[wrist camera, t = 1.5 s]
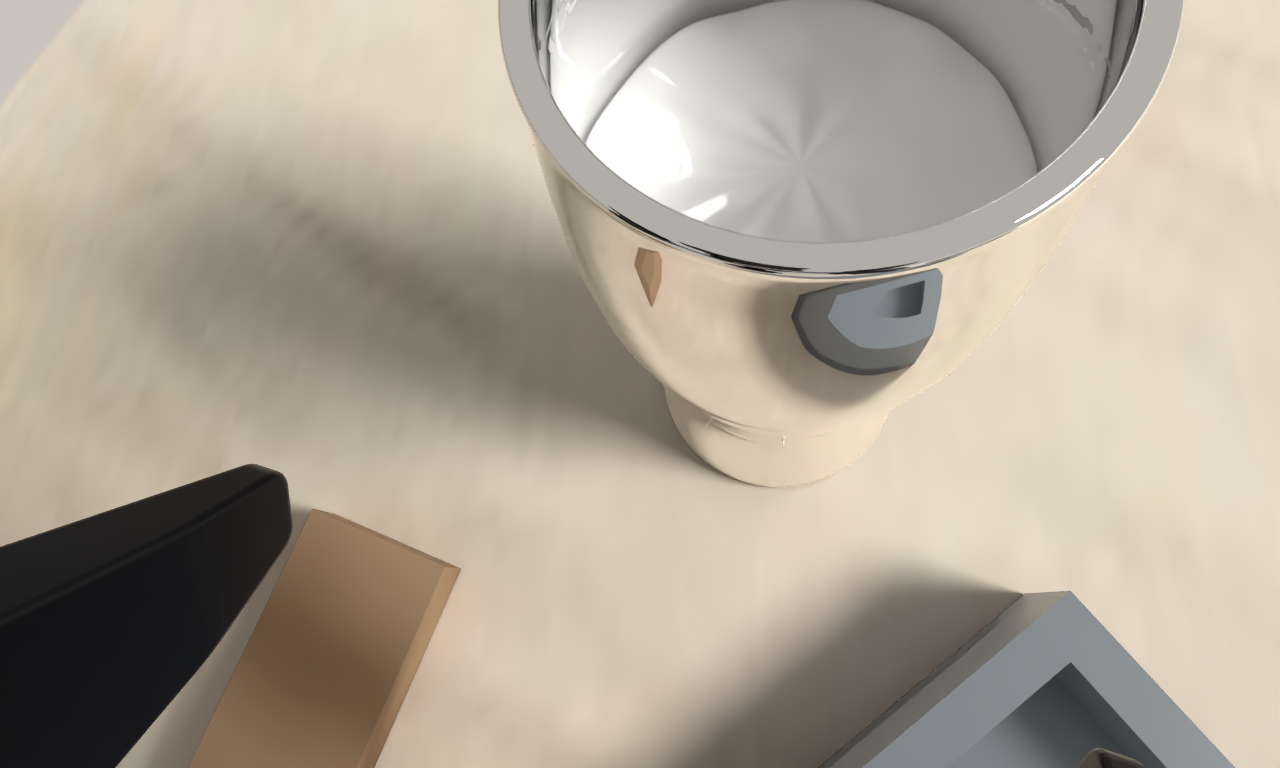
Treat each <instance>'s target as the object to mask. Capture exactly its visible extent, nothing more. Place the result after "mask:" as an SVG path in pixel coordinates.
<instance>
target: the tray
mask: <svg viewBox="0 0 1280 768" xmlns="http://www.w3.org/2000/svg"><path fill="white" fill-rule="evenodd" d="M1095 748H1102V749H1105V750H1108V751H1111V752H1114V753H1117V754H1120V755H1123V756H1126V757H1129V758H1132V759H1135V760H1137V761H1138V762H1140V763H1141V764H1142V765H1143V766H1144V767H1145V768H1235V767H1234V766H1233V765H1232V764H1231V763H1230V762H1229V761H1228V760H1227V759H1226V757H1225V756H1224V755H1223V754H1222V753H1221V752H1220V751H1219V750H1218V749H1217V748H1216V747H1215V746H1214V745H1213V743H1212V742H1211V741H1210V740H1209V739H1208V738H1207V737H1206V736H1205V735H1204V734H1203V733H1202V732H1201V731H1200V730H1199V728H1198V727H1197V726H1196V725H1195V724H1194V723H1193V722H1192V721H1191V720H1190V719H1189V718H1188V717H1187V716H1186V714H1185V713H1184V712H1183V711H1182V710H1181V709H1180V708H1179V707H1178V706H1177V705H1176V704H1175V703H1174V702H1173V701H1172V699H1171V698H1170V697H1169V696H1168V695H1167V694H1166V693H1165V692H1164V691H1163V690H1162V689H1161V688H1160V687H1159V685H1158V684H1157V683H1156V682H1155V681H1154V680H1153V679H1152V678H1151V677H1150V676H1149V675H1148V674H1147V673H1146V672H1145V670H1144V669H1143V668H1142V667H1141V666H1140V665H1139V664H1138V663H1137V662H1136V661H1135V660H1134V659H1133V658H1132V656H1131V655H1130V654H1129V653H1128V652H1127V651H1126V650H1125V649H1124V648H1123V647H1122V646H1121V645H1120V644H1119V643H1118V641H1117V640H1116V639H1115V638H1114V637H1113V636H1112V635H1111V634H1110V633H1109V632H1108V631H1107V630H1106V629H1105V627H1104V626H1103V625H1102V624H1101V623H1100V622H1099V621H1098V620H1097V619H1096V618H1095V617H1094V616H1093V615H1092V614H1091V612H1090V611H1089V610H1088V609H1087V608H1086V607H1085V606H1084V605H1083V604H1082V603H1081V602H1080V601H1079V600H1078V598H1077V597H1076V596H1075V595H1074V594H1073V593H1072V592H1071V591H1062V592H1044V593H1026V594H1024V595H1023V596H1022V597H1020V598H1019V599H1018V600H1017V601H1016V602H1014V603H1013V604H1012V605H1011V606H1010V607H1009V608H1007V609H1006V610H1005V611H1004V612H1003V613H1001V614H1000V615H999V616H998V617H997V618H995V619H994V620H993V621H992V622H991V623H990V624H988V625H987V626H986V627H985V628H984V629H982V630H981V631H980V632H979V633H978V634H977V635H975V636H974V637H973V638H972V639H971V640H969V641H968V642H967V643H966V644H965V645H964V646H962V647H961V648H960V649H959V650H958V651H956V652H955V653H954V654H953V655H952V656H950V657H949V658H948V659H947V660H946V661H945V662H943V663H942V664H941V665H940V666H939V667H937V668H936V669H935V670H934V671H933V672H932V673H930V674H929V675H928V676H927V677H926V678H924V679H923V680H922V681H921V682H920V683H919V684H917V685H916V686H915V687H914V688H913V689H911V690H910V691H909V692H908V693H907V694H905V695H904V696H903V697H902V698H901V699H900V700H898V701H897V702H896V703H895V704H894V705H892V706H891V707H890V708H889V709H888V710H887V711H885V712H884V713H883V714H882V715H881V716H879V717H878V718H877V719H876V720H875V721H874V722H872V723H871V724H870V725H869V726H868V727H866V728H865V729H864V730H863V731H862V732H860V733H859V734H858V735H857V736H856V737H855V738H853V739H852V740H851V741H850V742H849V743H847V744H846V745H845V746H844V747H843V748H842V749H840V750H839V751H838V752H837V753H836V754H834V755H833V756H832V757H831V758H830V759H829V760H827V761H826V762H825V763H824V764H823V765H821V766H820V767H819V768H1078V766H1079V765H1080V763H1081V762H1082V760H1083V759H1084V757H1085V756H1086V755H1087V754H1088V753H1089V751H1091V750H1093V749H1095Z"/></svg>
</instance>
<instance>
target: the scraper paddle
mask: <svg viewBox="0 0 1280 768" xmlns="http://www.w3.org/2000/svg"><path fill="white" fill-rule="evenodd" d="M460 570H461V569H460V568H458V567H456V566H453V565H451V564H449V563H446V562H444V561H442V560H439V559H437V558H435V557H432V556H430V555H428V554H426V553H423V552H421V551H419V550H416V549H414V548H412V547H409V546H407V545H405V544H402V543H400V542H398V541H396V540H393V539H391V538H389V537H386V536H384V535H382V534H379V533H377V532H375V531H372V530H370V529H368V528H366V527H363V526H361V525H359V524H356V523H354V522H352V521H349V520H347V519H345V518H343V517H340V516H338V515H336V514H332V513H328V512H324V511H319V510H315V509H312V511H311V513H310V515H309V517H308V519H307V521H306V523H305V525H304V528H303V530H302V532H301V534H300V536H299V538H298V540H297V542H296V544H295V546H294V548H293V550H292V553H291V555H290V557H289V559H288V561H287V563H286V565H285V567H284V569H283V571H282V573H281V575H280V577H279V580H278V582H277V584H276V586H275V588H274V590H273V592H272V594H271V596H270V598H269V600H268V602H267V605H266V607H265V609H264V611H263V613H262V615H261V617H260V619H259V621H258V623H257V625H256V627H255V630H254V632H253V634H252V636H251V638H250V640H249V642H248V644H247V646H246V648H245V650H244V652H243V655H242V657H241V659H240V661H239V663H238V665H237V667H236V669H235V671H234V673H233V675H232V677H231V680H230V682H229V684H228V686H227V688H226V690H225V692H224V694H223V696H222V698H221V700H220V702H219V705H218V707H217V709H216V711H215V713H214V715H213V717H212V719H211V721H210V723H209V725H208V727H207V729H206V732H205V734H204V736H203V738H202V740H201V742H200V744H199V746H198V748H197V750H196V752H195V754H194V757H193V759H192V761H191V763H190V765H189V767H188V768H374V767H375V765H376V763H377V760H378V758H379V756H380V753H381V751H382V749H383V746H384V744H385V742H386V740H387V737H388V735H389V733H390V730H391V728H392V726H393V724H394V721H395V719H396V717H397V714H398V712H399V710H400V708H401V705H402V703H403V701H404V698H405V696H406V694H407V691H408V689H409V687H410V685H411V682H412V680H413V678H414V675H415V673H416V671H417V669H418V666H419V664H420V662H421V659H422V657H423V655H424V653H425V650H426V648H427V646H428V643H429V641H430V639H431V636H432V634H433V632H434V630H435V627H436V625H437V623H438V620H439V618H440V616H441V614H442V611H443V609H444V607H445V604H446V602H447V600H448V598H449V595H450V593H451V591H452V588H453V586H454V584H455V581H456V579H457V577H458V575H459V572H460Z"/></svg>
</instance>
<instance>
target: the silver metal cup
mask: <svg viewBox="0 0 1280 768" xmlns="http://www.w3.org/2000/svg"><path fill="white" fill-rule="evenodd" d="M1184 6H1185V0H498V21H499V34H500V42H501V48H502V53H503V59H504V63H505V67H506V71H507V74H508V78H509V81H510V84H511V87H512V89H513V92H514V95H515V97H516V100H517V102H518V104H519V107H520V109H521V111H522V113H523V115H524V117H525V119H526V121H527V123H528V126H529V129H530V132H531V136H532V139H533V143H534V146H535V150H536V153H537V157H538V160H539V164H540V167H541V170H542V174H543V177H544V180H545V183H546V186H547V189H548V192H549V195H550V198H551V201H552V204H553V207H554V210H555V214H556V217H557V219H558V222H559V225H560V227H561V230H562V232H563V235H564V237H565V239H566V242H567V244H568V246H569V249H570V251H571V253H572V256H573V258H574V261H575V263H576V265H577V268H578V270H579V272H580V275H581V277H582V279H583V281H584V283H585V285H586V287H587V288H588V290H589V292H590V294H591V296H592V297H593V299H594V300H595V302H596V304H597V305H598V307H599V309H600V310H601V312H602V314H603V315H604V317H605V319H606V320H607V322H608V323H609V325H610V327H611V328H612V330H613V331H614V333H615V334H616V336H617V337H618V338H619V340H620V341H621V342H622V344H623V345H624V346H625V348H626V349H627V350H628V351H629V352H630V353H631V355H632V356H633V357H634V358H635V359H636V360H637V361H638V362H639V363H640V364H641V365H642V366H643V367H644V368H645V369H646V370H647V371H648V372H649V373H651V374H652V375H653V376H654V377H655V378H656V379H657V380H658V381H659V382H660V383H661V384H662V385H663V386H664V390H665V396H666V400H667V404H668V408H669V411H670V414H671V416H672V419H673V421H674V423H675V425H676V427H677V429H678V431H679V432H680V434H681V435H682V437H683V438H684V440H685V441H686V442H687V444H688V445H689V446H690V447H691V448H692V450H693V451H694V452H695V453H696V454H697V455H698V456H700V457H701V458H702V459H703V460H704V461H705V462H707V463H708V464H709V465H711V466H712V467H714V468H715V469H717V470H718V471H720V472H722V473H724V474H726V475H728V476H730V477H733V478H735V479H737V480H740V481H743V482H746V483H750V484H754V485H759V486H766V487H794V486H801V485H806V484H810V483H813V482H816V481H819V480H822V479H824V478H827V477H829V476H831V475H833V474H835V473H837V472H839V471H841V470H843V469H844V468H846V467H848V466H849V465H850V464H852V463H853V462H854V461H856V460H857V459H858V458H859V457H860V456H861V455H862V454H863V453H864V452H865V451H866V450H867V449H868V448H869V447H870V446H871V445H872V443H873V442H874V441H875V439H876V438H877V436H878V435H879V433H880V432H881V430H882V428H883V426H884V424H885V422H886V420H887V417H888V415H889V412H890V411H892V410H893V409H895V408H897V407H899V406H900V405H902V404H904V403H906V402H907V401H909V400H911V399H913V398H914V397H916V396H918V395H920V394H921V393H923V392H925V391H926V390H928V389H930V388H931V387H933V386H934V385H935V384H937V383H938V382H940V381H941V380H942V379H944V378H945V377H946V376H947V375H949V374H950V373H951V372H952V371H953V370H955V369H956V368H957V367H958V366H959V365H960V364H961V363H962V362H963V361H964V360H965V359H966V358H967V357H968V356H969V355H970V354H972V353H973V352H974V351H975V350H976V349H977V348H978V347H979V346H980V345H981V344H982V343H983V342H984V341H985V340H986V339H987V338H988V337H989V336H990V335H991V334H992V333H993V332H994V331H995V330H996V329H997V328H998V327H999V325H1000V324H1001V323H1002V322H1003V321H1004V320H1005V319H1006V317H1007V316H1008V315H1009V314H1010V313H1011V311H1012V310H1013V309H1014V307H1015V306H1016V305H1017V303H1018V302H1019V301H1020V299H1021V298H1022V297H1023V296H1024V294H1025V293H1026V292H1027V290H1028V289H1029V288H1030V286H1031V285H1032V284H1033V282H1034V281H1035V280H1036V278H1037V277H1038V276H1039V274H1040V273H1041V272H1042V270H1043V269H1044V268H1045V266H1046V265H1047V263H1048V262H1049V260H1050V259H1051V258H1052V256H1053V254H1054V253H1055V251H1056V250H1057V248H1058V247H1059V245H1060V243H1061V242H1062V240H1063V239H1064V237H1065V236H1066V234H1067V232H1068V231H1069V229H1070V228H1071V226H1072V224H1073V223H1074V221H1075V220H1076V218H1077V217H1078V215H1079V213H1080V212H1081V210H1082V208H1083V207H1084V205H1085V203H1086V202H1087V200H1088V198H1089V196H1090V195H1091V193H1092V191H1093V189H1094V188H1095V186H1096V184H1097V183H1098V181H1099V179H1100V177H1101V176H1102V174H1103V172H1104V171H1105V169H1106V167H1107V166H1108V164H1109V162H1110V161H1111V159H1112V158H1113V157H1114V156H1115V155H1116V153H1117V152H1118V151H1119V150H1120V149H1121V147H1122V146H1123V145H1124V144H1125V143H1126V141H1127V140H1128V139H1129V137H1130V136H1131V135H1132V134H1133V132H1134V131H1135V130H1136V128H1137V127H1138V125H1139V124H1140V122H1141V121H1142V119H1143V118H1144V116H1145V115H1146V113H1147V111H1148V109H1149V108H1150V106H1151V104H1152V103H1153V101H1154V99H1155V97H1156V95H1157V93H1158V91H1159V89H1160V88H1161V85H1162V83H1163V81H1164V78H1165V76H1166V74H1167V71H1168V69H1169V66H1170V63H1171V61H1172V58H1173V55H1174V52H1175V49H1176V45H1177V42H1178V38H1179V34H1180V30H1181V25H1182V19H1183V13H1184Z"/></svg>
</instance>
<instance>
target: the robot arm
mask: <svg viewBox="0 0 1280 768" xmlns="http://www.w3.org/2000/svg"><path fill="white" fill-rule="evenodd" d="M292 527H293V522H292V514H291V506H290V498H289V490H288V483H287V480H286V478H285V477H284V475H283V474H282V473H280V472H278V471H275V470H272V469H269V468H266V467H263V466H260V465H257V464H247V465H244V466H240V467H237V468H234V469H231V470H228V471H225V472H222V473H219V474H216V475H213V476H210V477H208V478H205V479H202V480H199V481H196V482H193V483H190V484H187V485H184V486H181V487H178V488H175V489H172V490H169V491H166V492H163V493H160V494H157V495H154V496H151V497H148V498H145V499H142V500H139V501H136V502H133V503H130V504H127V505H124V506H121V507H118V508H115V509H112V510H109V511H106V512H103V513H100V514H97V515H94V516H91V517H88V518H85V519H82V520H79V521H76V522H73V523H70V524H67V525H64V526H61V527H58V528H55V529H52V530H49V531H46V532H43V533H41V534H38V535H35V536H32V537H29V538H26V539H23V540H20V541H17V542H14V543H11V544H8V545H5V546H2V547H0V768H116V766H117V765H118V764H119V763H120V762H121V760H122V759H123V758H124V757H125V756H126V754H127V753H128V752H129V751H130V750H131V749H132V747H133V746H134V745H135V744H136V743H137V741H138V740H139V739H140V738H141V737H142V736H143V734H144V733H145V732H146V731H147V730H148V728H149V727H150V726H151V725H152V724H153V722H154V721H155V720H156V719H157V718H158V717H159V715H160V714H161V713H162V712H163V711H164V709H165V708H166V707H167V706H168V705H169V704H170V702H171V701H172V700H173V699H174V698H175V696H176V695H177V694H178V693H179V692H180V690H181V689H182V688H183V687H184V686H185V685H186V683H187V682H188V681H189V680H190V679H191V677H192V676H193V675H194V674H195V673H196V672H197V670H198V669H199V668H200V667H201V665H202V664H203V663H204V662H205V660H206V659H207V658H208V657H209V655H210V654H211V653H212V652H213V650H214V649H215V648H216V646H217V645H218V644H219V642H220V641H221V639H222V638H223V637H224V635H225V634H226V633H227V631H228V630H229V628H230V627H231V625H232V624H233V622H234V621H235V619H236V618H237V617H238V615H239V614H240V612H241V611H242V609H243V608H244V606H245V605H246V603H247V602H248V601H249V599H250V598H251V596H252V595H253V593H254V592H255V590H256V589H257V587H258V586H259V585H260V583H261V582H262V580H263V579H264V577H265V576H266V574H267V573H268V571H269V570H270V569H271V567H272V566H273V564H274V563H275V561H276V560H277V558H278V557H279V555H280V554H281V553H282V551H283V550H284V548H285V547H286V545H287V543H288V541H289V539H290V536H291V533H292ZM1078 768H1145V767H1144V766H1143V765H1142V764H1141V763H1140V762H1138V761H1137V760H1135V759H1132V758H1129V757H1126V756H1123V755H1120V754H1117V753H1114V752H1111V751H1108V750H1105V749H1102V748H1095V749H1093V750H1091V751H1089V753H1088V754H1087V755H1086V756H1085V757H1084V759H1083V760H1082V762H1081V763H1080V765H1079V766H1078Z"/></svg>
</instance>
